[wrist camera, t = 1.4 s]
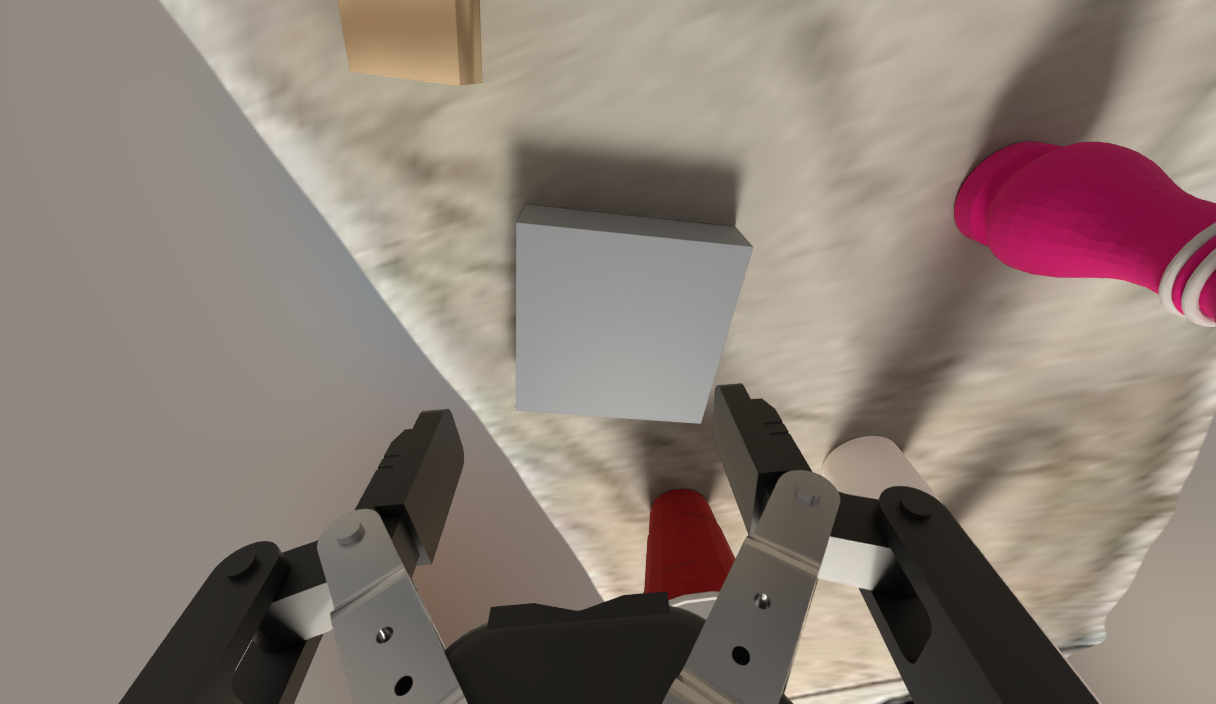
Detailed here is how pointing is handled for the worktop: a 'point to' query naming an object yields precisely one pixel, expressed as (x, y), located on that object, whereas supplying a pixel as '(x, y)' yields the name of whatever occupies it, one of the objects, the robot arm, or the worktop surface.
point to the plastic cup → (686, 552)
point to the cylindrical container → (882, 478)
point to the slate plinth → (622, 312)
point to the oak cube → (414, 39)
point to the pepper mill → (1094, 220)
